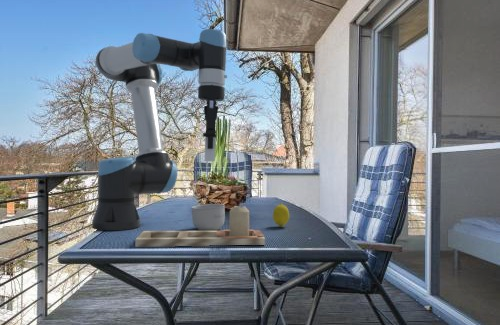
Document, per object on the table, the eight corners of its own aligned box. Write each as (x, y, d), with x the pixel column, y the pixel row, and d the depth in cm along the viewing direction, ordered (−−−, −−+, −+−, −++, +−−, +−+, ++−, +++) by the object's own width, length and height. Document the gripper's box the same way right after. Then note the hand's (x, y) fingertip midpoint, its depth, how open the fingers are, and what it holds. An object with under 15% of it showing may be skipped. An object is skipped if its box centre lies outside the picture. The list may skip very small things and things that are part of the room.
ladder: (135, 246, 106) (135, 238, 106) (143, 237, 118) (143, 229, 118) (265, 245, 109) (265, 237, 109) (260, 237, 121) (260, 229, 121)
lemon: (291, 226, 140) (292, 203, 140) (284, 229, 135) (284, 205, 135) (277, 225, 143) (277, 202, 143) (269, 227, 138) (270, 203, 138)
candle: (251, 240, 116) (251, 205, 116) (245, 244, 111) (245, 207, 111) (233, 239, 118) (233, 204, 118) (226, 242, 113) (226, 206, 113)
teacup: (219, 233, 126) (219, 207, 126) (186, 232, 128) (186, 206, 128) (230, 226, 140) (230, 203, 140) (200, 224, 142) (200, 202, 142)
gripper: (227, 79, 105) (224, 162, 105) (222, 92, 129) (220, 159, 130) (197, 78, 104) (195, 161, 105) (199, 91, 128) (197, 158, 129)
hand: (209, 160), depth 117 cm, fingers open, 13 cm apart
